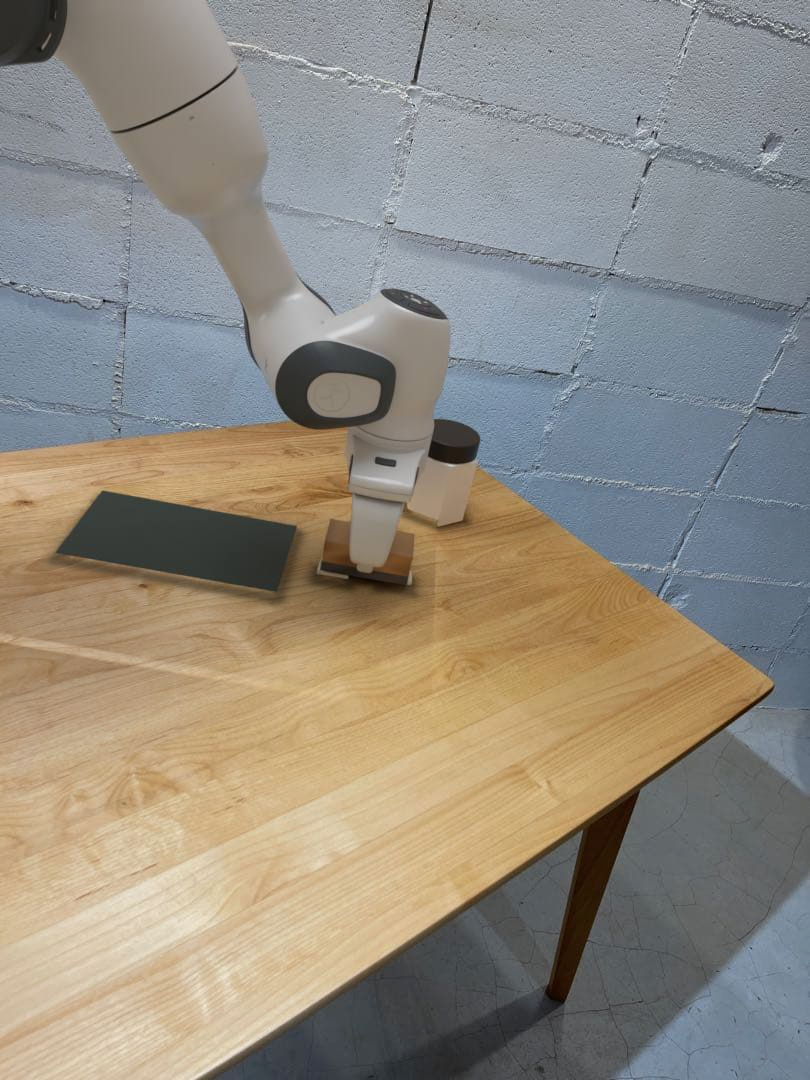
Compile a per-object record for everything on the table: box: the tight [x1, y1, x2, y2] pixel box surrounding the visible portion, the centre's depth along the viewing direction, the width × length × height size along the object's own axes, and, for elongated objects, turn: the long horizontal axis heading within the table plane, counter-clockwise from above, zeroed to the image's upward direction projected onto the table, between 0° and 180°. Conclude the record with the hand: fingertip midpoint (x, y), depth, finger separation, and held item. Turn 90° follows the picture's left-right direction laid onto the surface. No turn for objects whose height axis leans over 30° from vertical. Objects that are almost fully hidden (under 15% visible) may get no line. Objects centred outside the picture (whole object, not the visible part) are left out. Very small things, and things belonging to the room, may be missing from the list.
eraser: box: [320, 518, 416, 586], centre depth 94 cm, size 10×5×4 cm, turn 87°
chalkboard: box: [54, 490, 298, 593], centre depth 94 cm, size 24×14×1 cm, turn 87°
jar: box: [406, 418, 481, 528], centre depth 109 cm, size 9×8×12 cm
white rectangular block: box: [316, 559, 350, 580], centre depth 94 cm, size 4×2×2 cm, turn 88°
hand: (367, 553), depth 94 cm, fingers closed on eraser, 5 cm apart
